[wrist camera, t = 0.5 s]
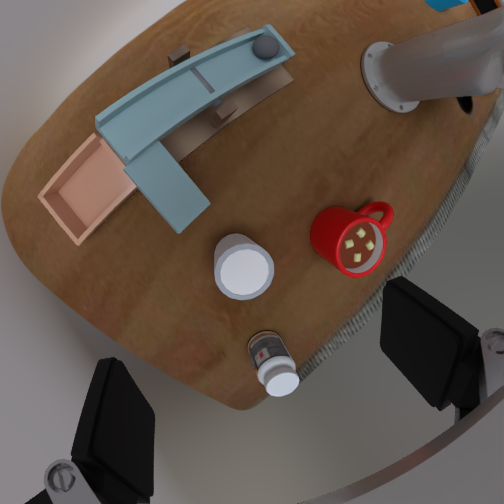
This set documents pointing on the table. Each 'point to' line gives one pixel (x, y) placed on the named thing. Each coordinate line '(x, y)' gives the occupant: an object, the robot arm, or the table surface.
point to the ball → (266, 47)
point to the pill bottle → (273, 363)
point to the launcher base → (230, 109)
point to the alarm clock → (486, 5)
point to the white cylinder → (242, 267)
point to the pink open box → (87, 189)
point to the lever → (179, 119)
